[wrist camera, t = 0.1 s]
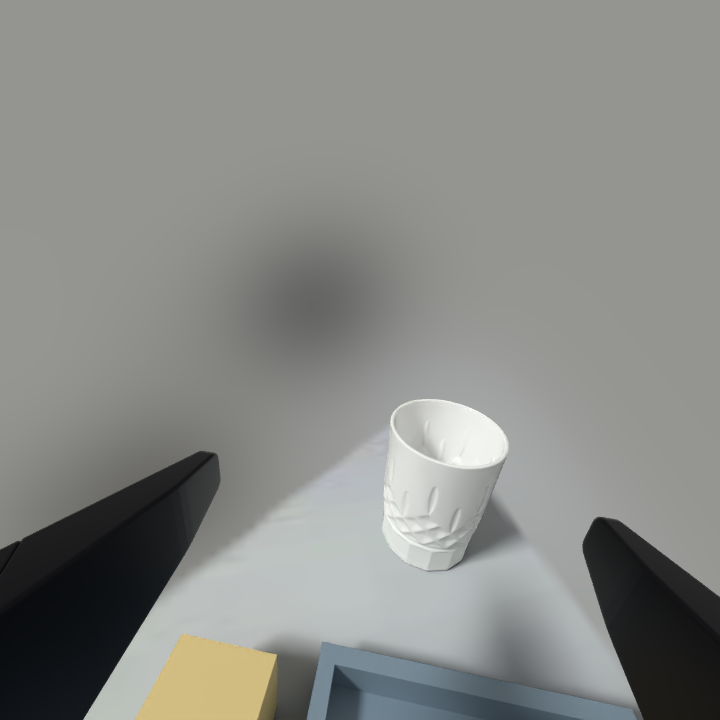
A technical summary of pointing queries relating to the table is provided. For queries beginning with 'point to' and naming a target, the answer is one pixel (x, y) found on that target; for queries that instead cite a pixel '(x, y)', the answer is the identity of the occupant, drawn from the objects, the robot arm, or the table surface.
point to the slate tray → (433, 693)
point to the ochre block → (213, 683)
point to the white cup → (438, 480)
